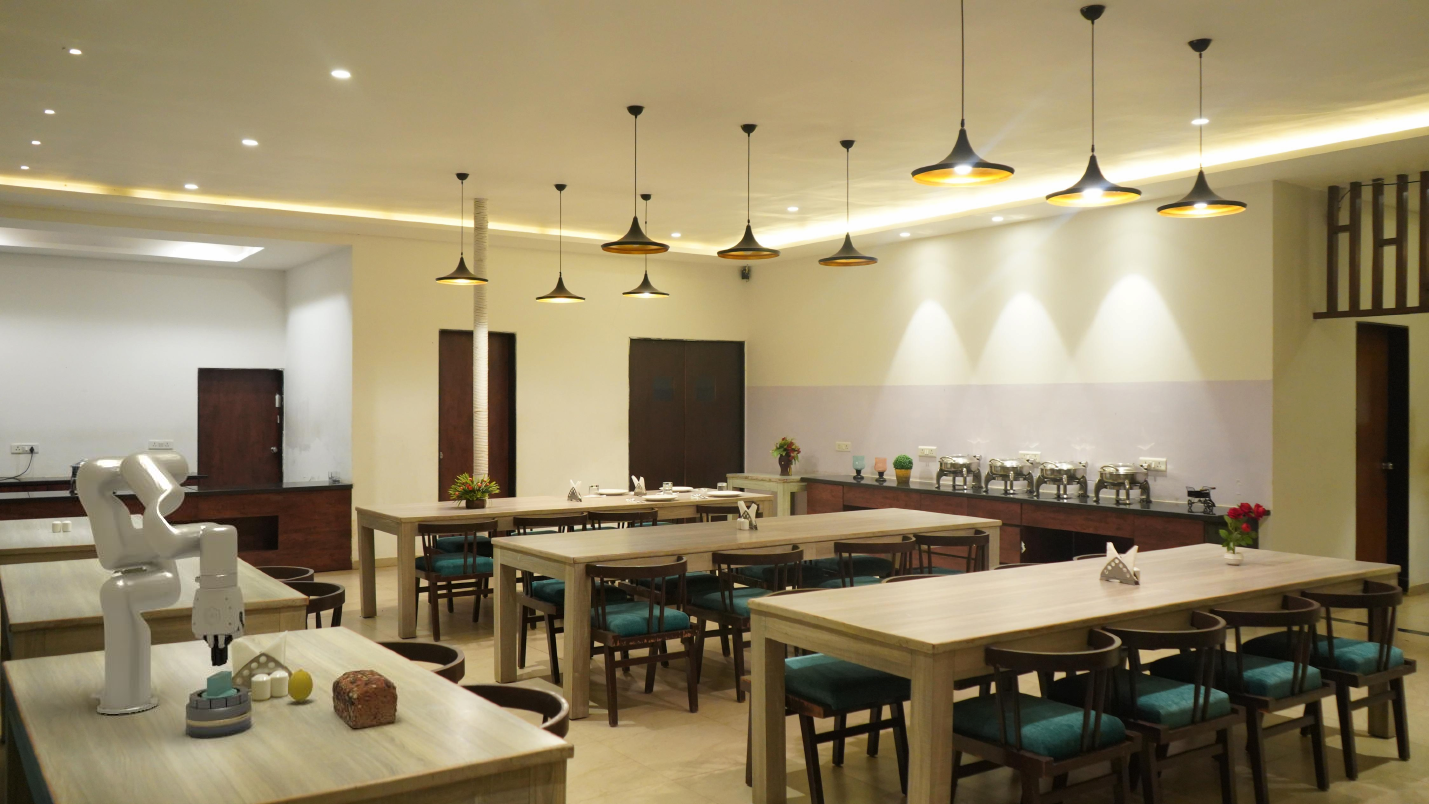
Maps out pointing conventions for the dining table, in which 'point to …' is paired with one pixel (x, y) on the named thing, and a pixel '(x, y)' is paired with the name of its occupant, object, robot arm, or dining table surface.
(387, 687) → the bread
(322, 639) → the dining table surface
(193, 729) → the lens barrel
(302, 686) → the lemon
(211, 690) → the teal knob
